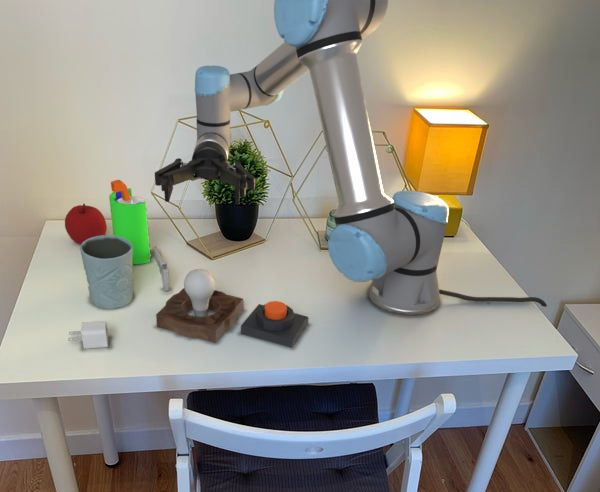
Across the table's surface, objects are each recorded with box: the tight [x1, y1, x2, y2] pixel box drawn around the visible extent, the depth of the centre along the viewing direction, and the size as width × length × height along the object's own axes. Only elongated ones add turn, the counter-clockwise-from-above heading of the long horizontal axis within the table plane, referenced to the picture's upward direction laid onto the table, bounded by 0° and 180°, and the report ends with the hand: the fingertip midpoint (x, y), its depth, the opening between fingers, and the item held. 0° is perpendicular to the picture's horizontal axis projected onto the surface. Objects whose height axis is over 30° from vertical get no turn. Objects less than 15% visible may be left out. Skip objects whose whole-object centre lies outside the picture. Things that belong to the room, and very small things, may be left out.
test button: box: [264, 300, 288, 320], centre depth 130 cm, size 4×4×2 cm
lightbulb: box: [183, 268, 216, 317], centre depth 131 cm, size 6×6×11 cm
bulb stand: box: [155, 287, 245, 344], centre depth 133 cm, size 14×14×3 cm
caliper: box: [151, 245, 170, 292], centre depth 147 cm, size 21×1×6 cm, turn 17°
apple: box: [64, 203, 108, 245], centre depth 153 cm, size 9×9×10 cm
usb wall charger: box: [67, 320, 109, 350], centre depth 124 cm, size 4×7×4 cm, turn 102°
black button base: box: [240, 303, 309, 348], centre depth 132 cm, size 11×9×4 cm
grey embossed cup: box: [79, 234, 134, 310], centre depth 134 cm, size 10×10×12 cm
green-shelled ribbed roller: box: [108, 179, 152, 265], centre depth 147 cm, size 9×8×18 cm
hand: (201, 196), depth 128 cm, fingers open, 13 cm apart
